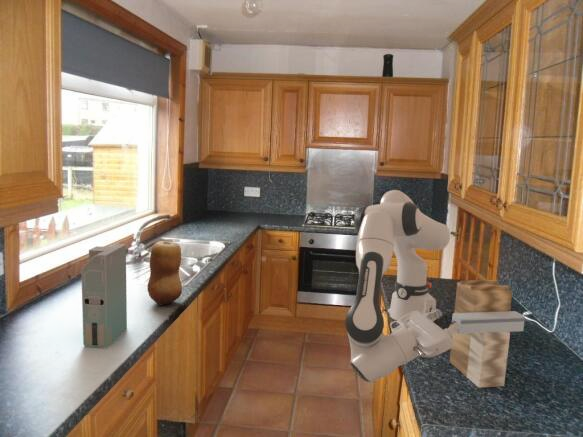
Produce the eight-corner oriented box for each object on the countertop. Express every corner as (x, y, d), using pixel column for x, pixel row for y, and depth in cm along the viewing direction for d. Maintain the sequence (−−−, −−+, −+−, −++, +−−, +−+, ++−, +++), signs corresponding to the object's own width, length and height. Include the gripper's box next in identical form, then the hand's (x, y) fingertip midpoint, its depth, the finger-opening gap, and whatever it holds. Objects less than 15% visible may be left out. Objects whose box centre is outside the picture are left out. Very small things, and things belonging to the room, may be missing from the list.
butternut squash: (184, 307, 200) (184, 245, 196) (149, 310, 195) (148, 246, 191) (178, 296, 213) (178, 238, 209) (145, 299, 208) (144, 239, 204)
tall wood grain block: (478, 387, 145) (488, 296, 140) (449, 362, 160) (457, 279, 156) (516, 385, 147) (527, 294, 143) (483, 360, 163) (492, 278, 159)
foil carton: (459, 334, 141) (460, 318, 140) (451, 328, 145) (452, 313, 145) (523, 331, 145) (524, 316, 145) (513, 325, 150) (515, 311, 149)
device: (105, 327, 177) (103, 242, 172) (127, 328, 177) (126, 244, 172) (83, 346, 161) (80, 254, 156) (107, 348, 160) (105, 255, 155)
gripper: (419, 349, 130) (464, 321, 131) (388, 320, 150) (427, 297, 151) (429, 369, 131) (473, 341, 133) (396, 338, 151) (435, 314, 153)
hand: (448, 317), depth 142 cm, fingers open, 8 cm apart
